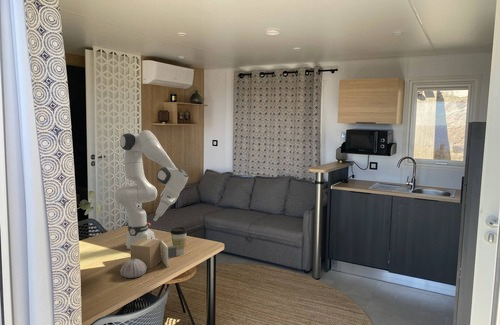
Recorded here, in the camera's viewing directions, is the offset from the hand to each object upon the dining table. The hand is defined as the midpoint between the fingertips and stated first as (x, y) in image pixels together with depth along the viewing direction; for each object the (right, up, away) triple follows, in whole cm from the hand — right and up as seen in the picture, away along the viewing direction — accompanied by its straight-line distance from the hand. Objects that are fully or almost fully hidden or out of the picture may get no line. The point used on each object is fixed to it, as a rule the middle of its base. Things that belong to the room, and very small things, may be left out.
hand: (155, 218), depth 206 cm
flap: (+6, -25, +6) cm, 27 cm away
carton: (-7, -26, +6) cm, 27 cm away
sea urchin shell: (-9, -28, -9) cm, 31 cm away
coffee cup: (+9, -24, +21) cm, 33 cm away
